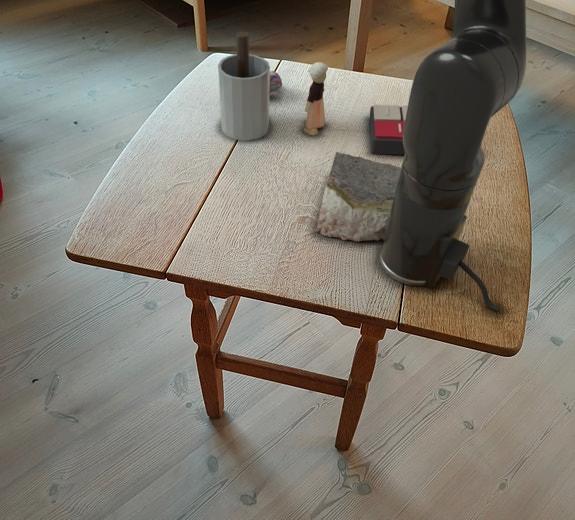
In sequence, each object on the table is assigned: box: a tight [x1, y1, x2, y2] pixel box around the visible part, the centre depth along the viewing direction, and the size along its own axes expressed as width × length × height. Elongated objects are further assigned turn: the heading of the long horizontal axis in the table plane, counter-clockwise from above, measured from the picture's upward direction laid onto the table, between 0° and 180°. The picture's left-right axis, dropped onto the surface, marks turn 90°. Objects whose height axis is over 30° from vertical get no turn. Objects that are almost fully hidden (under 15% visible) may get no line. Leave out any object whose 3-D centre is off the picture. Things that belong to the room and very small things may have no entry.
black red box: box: [368, 104, 408, 156], centre depth 99 cm, size 11×4×15 cm
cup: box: [217, 53, 271, 142], centre depth 96 cm, size 9×9×12 cm
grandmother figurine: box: [303, 61, 329, 136], centre depth 97 cm, size 8×4×13 cm, turn 168°
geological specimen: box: [315, 151, 401, 242], centre depth 85 cm, size 11×6×15 cm
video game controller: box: [269, 70, 283, 96], centre depth 106 cm, size 10×5×7 cm, turn 104°
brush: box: [235, 31, 250, 78], centre depth 94 cm, size 4×4×17 cm
